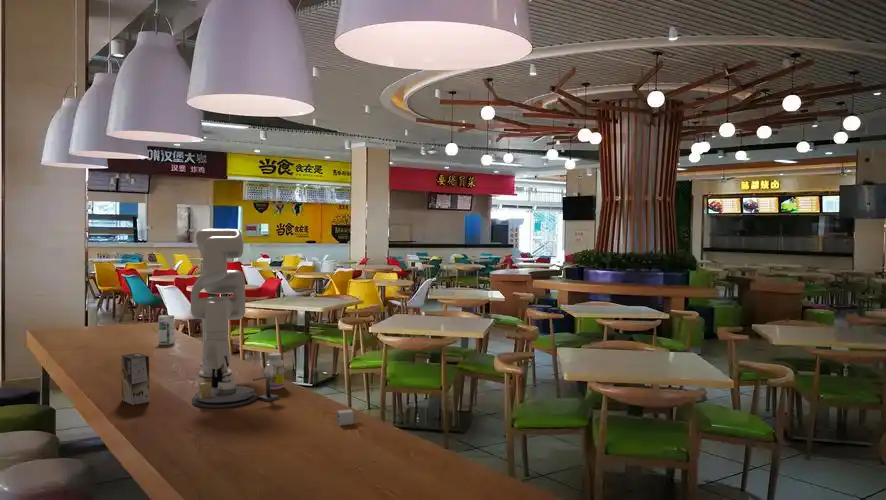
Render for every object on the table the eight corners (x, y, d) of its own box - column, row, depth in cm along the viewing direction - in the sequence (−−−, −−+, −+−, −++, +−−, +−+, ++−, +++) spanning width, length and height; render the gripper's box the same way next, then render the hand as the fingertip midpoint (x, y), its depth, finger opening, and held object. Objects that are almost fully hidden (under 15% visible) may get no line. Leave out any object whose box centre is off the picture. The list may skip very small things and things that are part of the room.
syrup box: (158, 344, 345) (157, 316, 345) (164, 342, 351) (164, 314, 350) (168, 345, 344) (168, 316, 344) (175, 343, 350) (174, 314, 349)
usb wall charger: (336, 422, 215) (336, 410, 214) (358, 420, 217) (358, 407, 217) (339, 426, 211) (339, 413, 211) (361, 423, 213) (361, 411, 213)
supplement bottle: (262, 388, 257) (261, 354, 256) (274, 384, 263) (273, 351, 262) (275, 390, 254) (275, 356, 253) (287, 387, 260) (287, 353, 259)
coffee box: (150, 402, 238) (150, 356, 237) (131, 405, 233) (131, 358, 232) (139, 397, 244) (138, 352, 243) (120, 400, 239) (120, 354, 238)
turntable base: (178, 401, 238) (178, 398, 238) (232, 389, 256) (232, 386, 256) (217, 412, 225) (217, 409, 225) (270, 398, 243) (270, 395, 243)
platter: (183, 397, 239) (182, 379, 238) (231, 386, 255) (231, 369, 254) (217, 407, 227) (217, 388, 226) (266, 394, 243) (266, 377, 242)
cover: (214, 393, 240) (214, 377, 239) (227, 389, 245) (227, 374, 244) (226, 395, 237) (225, 380, 236) (239, 392, 242) (239, 376, 241)
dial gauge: (249, 401, 239) (249, 366, 238) (269, 396, 246) (269, 361, 245) (258, 403, 236) (258, 367, 235) (278, 398, 243) (278, 363, 242)
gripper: (194, 334, 244) (195, 385, 245) (220, 339, 235) (220, 392, 236) (213, 332, 250) (213, 381, 251) (238, 336, 241) (238, 388, 242)
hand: (217, 386), depth 243 cm, fingers closed
